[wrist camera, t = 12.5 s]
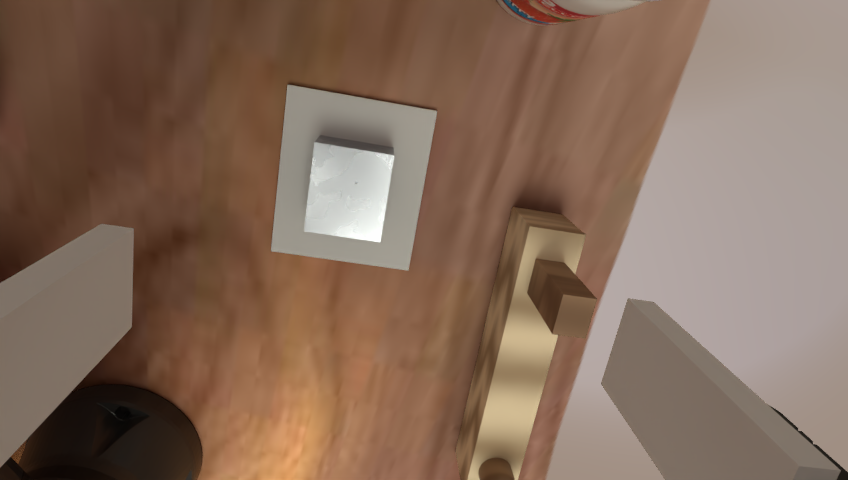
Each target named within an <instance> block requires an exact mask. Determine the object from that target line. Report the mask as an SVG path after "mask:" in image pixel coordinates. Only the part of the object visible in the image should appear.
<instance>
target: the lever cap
mask: <svg viewBox="0 0 848 480" xmlns="http://www.w3.org/2000/svg"><path fill="white" fill-rule="evenodd" d="M393 161H394V147H389V146H383V145H377V144H371V143H365V142H359V141H353V140H347V139H341V138H335V137H329V136H323V135H320V136H319V137H318V138H317V140H316V141H315V142H314V150H313V158H312V167H311V175H310V184H309V192H308V201H307V209H306V218H305V226H304V231H306V232H313V233H319V234H326V235H333V236H340V237H347V238H354V239H360V240H367V241H374V242H380V241H381V235H382V229H383V223H384V217H385V211H386V204H387V198H388V192H389V186H390V180H391V174H392V167H393Z"/></svg>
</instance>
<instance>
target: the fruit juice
mask: <svg viewBox="0 0 848 480" xmlns="http://www.w3.org/2000/svg"><path fill="white" fill-rule="evenodd" d="M646 1H660V0H497V2H498V3H499V4H500V6H501V7H502V8H503V9H504V10H505V11H506V12H507V13H509V14H510V15H511V16H513V17H514V18H516V19H518V20H520V21H523V22H525V23H529V24H533V25H539V26H548V25H555V24H560V23H565V22H570V21H575V20H580V19H585V18H590V17H595V16H600V15H607V14H613V13H617V12H620V11H624V10H627V9H629V8H632V7H635V6H637V5H640V4H642V3H644V2H646Z"/></svg>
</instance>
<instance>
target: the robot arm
mask: <svg viewBox="0 0 848 480" xmlns="http://www.w3.org/2000/svg"><path fill="white" fill-rule="evenodd" d="M133 242H134V228H127V227H120V226H113V225H106V224H100V225H98V226H97V227H95V228H93V229H92V230H90V231H88V232H87V233H85V234H83V235H81V236H80V237H78V238H76V239H75V240H73V241H71V242H69V243H68V244H66V245H64V246H63V247H61V248H59V249H58V250H56V251H54V252H52V253H51V254H49V255H47V256H46V257H44V258H42V259H40V260H39V261H37V262H35V263H34V264H32V265H30V266H28V267H27V268H25V269H23V270H22V271H20V272H18V273H17V274H15V275H13V276H11V277H10V278H8V279H6V280H5V281H3V282H1V283H0V480H197V478H198V475H199V473H200V469H201V465H202V449H201V444H200V441H199V438H198V435H197V433H196V431H195V429H194V427H193V426H192V424H191V423H190V421H189V420H188V419H187V418H186V416H185V415H184V414H183V413H182V412H181V411H180V410H179V409H177V408H176V407H175V406H174V405H172V404H171V403H170V402H168V401H166V400H165V399H163V398H161V397H160V396H158V395H155V394H153V393H151V392H148V391H146V390H142V389H139V388H135V387H130V386H124V385H98V386H92V387H88V388H84V389H81V390H78V391H75V392H73V393H71V392H72V390H73V389H74V388H75V387H76V386H77V385H78V384H79V383H80V382H81V381H82V380H83V379H84V378H85V377H86V376H87V374H88V373H89V372H90V371H91V370H92V369H93V368H94V367H95V366H96V365H97V364H98V363H99V362H100V361H101V359H102V358H103V357H104V356H105V355H106V354H107V353H108V352H109V351H110V350H111V349H112V348H113V347H114V346H115V345H116V343H117V342H118V341H119V340H120V339H121V338H122V337H123V336H124V335H125V334H126V333H127V332H128V331H129V330H130V329H131V327H132V291H133ZM601 384H602V386H603V388H604V389H605V391H606V392H607V393H608V395H609V396H610V398H611V399H612V401H613V402H614V404H615V405H616V407H617V408H618V410H619V411H620V413H621V414H622V416H623V417H624V419H625V420H626V422H627V423H628V425H629V426H630V428H631V429H632V431H633V432H634V434H635V435H636V437H637V438H638V439H639V441H640V442H641V444H642V446H643V447H644V449H645V450H646V452H647V453H648V455H649V456H650V458H651V459H652V461H653V462H654V464H655V465H656V467H657V468H658V470H659V471H660V473H661V474H662V475H663V477H664V479H665V480H848V472H847V471H845V470H844V469H843V468H842V467H841V466H840V465H839V464H838V463H837V462H835V461H834V460H833V459H832V458H831V457H829V455H828V454H826V453H825V452H824V451H823V450H822V449H821V448H820V447H819V446H817V445H815V444H813V441H812V440H811V439H810V438H808V437H807V436H806V435H805V434H804V433H803V432H802V431H798V428H797V427H796V426H795V425H794V424H793V423H792V422H790V421H789V420H788V419H787V418H786V417H785V416H784V415H783V414H781V413H780V412H779V411H777V410H776V409H774V408H773V407H771V406H769V405H768V404H766V403H765V402H764V401H763V400H762V399H761V398H760V397H759V396H758V395H756V394H755V393H754V392H753V391H752V390H751V389H749V388H748V386H746V385H745V384H744V383H743V382H742V381H741V380H740V379H738V378H737V377H736V376H735V375H734V374H733V373H732V372H731V371H730V370H728V368H726V367H725V366H724V365H723V364H722V363H721V362H720V361H719V360H717V359H716V358H715V357H714V356H713V355H712V354H711V353H709V351H707V350H706V349H705V348H704V347H703V346H702V345H701V344H700V343H699V342H697V341H696V340H695V339H694V338H693V337H692V336H691V335H690V334H689V333H687V332H686V331H685V330H684V329H683V328H682V327H681V326H680V325H679V324H677V323H676V322H675V321H674V320H673V319H672V318H671V317H670V316H669V315H667V314H666V313H665V312H664V311H663V310H662V309H661V308H660V307H659V306H657V305H656V304H655V303H654V302H650V301H642V300H636V299H628V300H627V303H626V306H625V310H624V313H623V316H622V319H621V322H620V325H619V329H618V332H617V335H616V338H615V341H614V344H613V348H612V351H611V354H610V357H609V361H608V364H607V367H606V370H605V373H604V376H603V379H602V382H601ZM70 393H71V394H70ZM28 437H29V438H28ZM27 439H28V440H27ZM26 440H27V443H26V446H25V449H24V451H23V454H22V456H21V459H20V461H19V464H17V463H16V462H15V461H14V460H13V459H12V458H11V456H12V455H13V453H14V452H15V451H16V450H17V449H18V448H19V447H20V446H21V445H22V444H23V443H24V442H25V441H26Z"/></svg>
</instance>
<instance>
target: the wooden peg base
mask: <svg viewBox="0 0 848 480" xmlns="http://www.w3.org/2000/svg"><path fill="white" fill-rule="evenodd" d="M585 237H586V235H585V234H584V233H583V232H582V231H581V230H580V229H579V228H577V227H576V226H575V225H574V224H573V223H572V222H570V221H569V220H568V219H567V218H566V217H565V216H564V215H562V214H556V213H550V212H543V211H537V210H531V209H525V208H518V207H512V211H511V215H510V219H509V224H508V228H507V232H506V236H505V241H504V245H503V249H502V254H501V258H500V262H499V266H498V271H497V275H496V279H495V284H494V288H493V292H492V296H491V301H490V305H489V309H488V314H487V318H486V322H485V326H484V331H483V335H482V339H481V344H480V348H479V352H478V356H477V361H476V365H475V369H474V374H473V378H472V382H471V386H470V391H469V395H468V399H467V404H466V408H465V412H464V416H463V421H462V425H461V429H460V434H459V438H458V442H457V446H456V451H455V452H456V458H457V463H458V468H459V474H460V479H461V480H518V477H519V473H520V470H521V466H522V463H523V459H524V455H525V452H526V448H527V445H528V441H529V438H530V434H531V430H532V427H533V423H534V420H535V416H536V413H537V409H538V405H539V402H540V398H541V395H542V391H543V387H544V384H545V380H546V377H547V373H548V370H549V366H550V362H551V359H552V355H553V352H554V348H555V344H556V341H557V337H558V335H562V336H569V337H577V338H585V339H586V335H587V332H588V328H589V325H590V322H591V318H592V315H593V312H594V308H595V305H596V301H597V298H596V297H595V296H594V295H593V294H592V293H591V292H590V291H589V289H588V288H587V287H586V286H585V285H584V284H583V283H582V282H581V280H580V279H579V278H578V277H577V276H576V275H575V273H576V269H577V266H578V262H579V259H580V255H581V251H582V248H583V244H584V241H585Z"/></svg>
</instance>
